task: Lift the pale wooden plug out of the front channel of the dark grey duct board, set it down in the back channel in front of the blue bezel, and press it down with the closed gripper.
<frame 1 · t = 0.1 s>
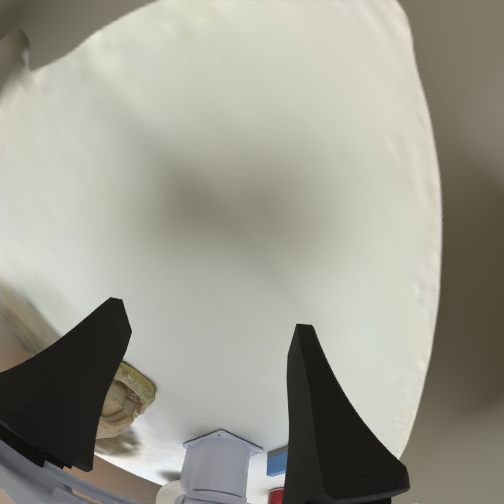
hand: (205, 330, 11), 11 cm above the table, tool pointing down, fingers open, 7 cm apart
soda can: (285, 490, 42), on the table
duct board: (328, 454, 33), on the table
decorative ball: (190, 481, 43), on the table
ceramic model: (111, 384, 30), on the table
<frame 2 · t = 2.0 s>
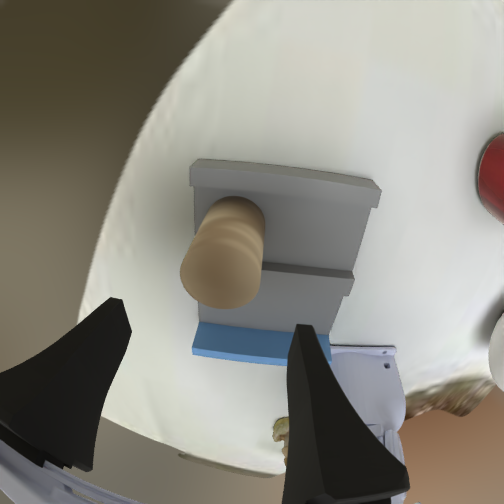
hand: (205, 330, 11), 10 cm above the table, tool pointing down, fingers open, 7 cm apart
soda can: (501, 172, 15), on the table
duct board: (274, 263, 21), on the table
wooden plug: (235, 223, 19), point 1 cm above the table, touching duct board
ceramic model: (316, 424, 39), on the table
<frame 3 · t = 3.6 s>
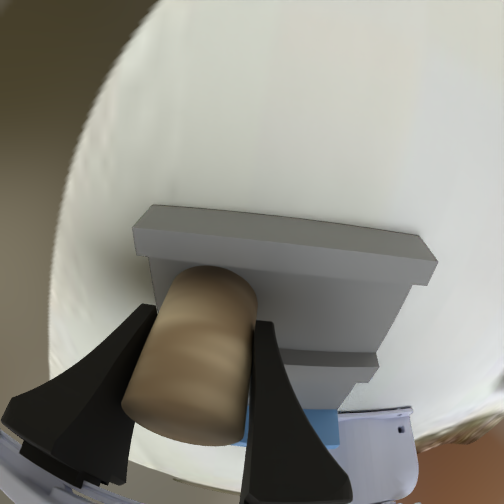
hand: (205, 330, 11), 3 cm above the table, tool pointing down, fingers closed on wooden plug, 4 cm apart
duct board: (271, 341, 15), on the table
wooden plug: (212, 301, 12), point 1 cm above the table, touching duct board, gripper
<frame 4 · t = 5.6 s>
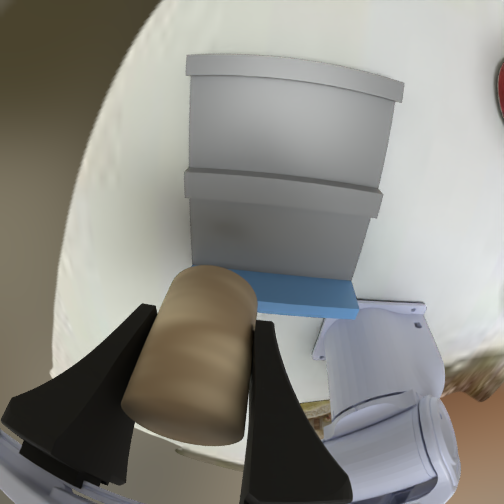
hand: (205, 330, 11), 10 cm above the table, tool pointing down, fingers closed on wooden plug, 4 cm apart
duct board: (284, 180, 17), on the table
wooden plug: (212, 301, 12), point 8 cm above the table, touching gripper
ceramic model: (330, 412, 35), on the table
when the fingers open (4 cm above the table, at t = 7.6 s): wooden plug drops 1 cm, resting on duct board.
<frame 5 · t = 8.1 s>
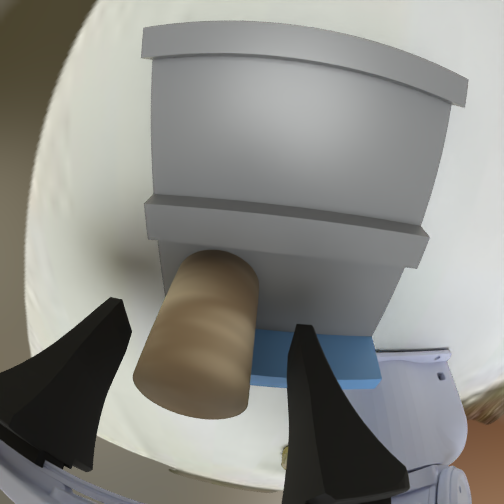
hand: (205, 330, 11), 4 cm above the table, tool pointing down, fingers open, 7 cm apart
duct board: (291, 212, 12), on the table
wooden plug: (217, 284, 13), point 1 cm above the table, touching duct board
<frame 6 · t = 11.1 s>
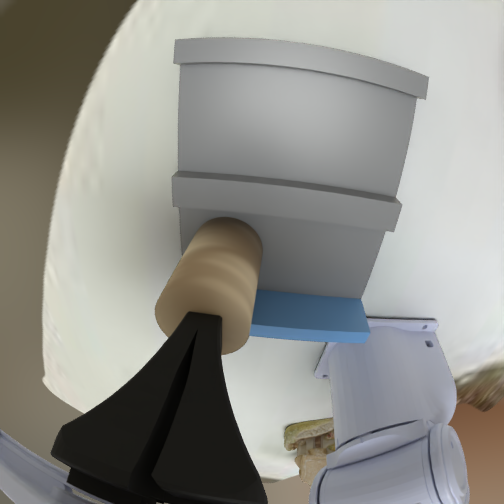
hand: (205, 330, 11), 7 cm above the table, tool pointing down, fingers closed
duct board: (288, 186, 15), on the table
wooden plug: (227, 248, 16), point 1 cm above the table, touching duct board
ceramic model: (333, 428, 33), on the table
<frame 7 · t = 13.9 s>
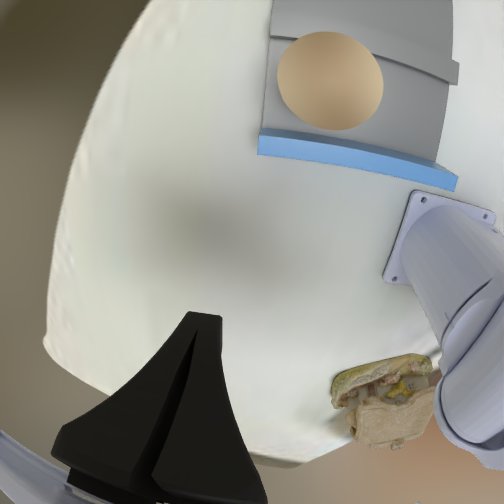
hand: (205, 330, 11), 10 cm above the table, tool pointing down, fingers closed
duct board: (366, 44, 12), on the table
wooden plug: (315, 87, 14), point 1 cm above the table, touching duct board
ceramic model: (383, 378, 31), on the table
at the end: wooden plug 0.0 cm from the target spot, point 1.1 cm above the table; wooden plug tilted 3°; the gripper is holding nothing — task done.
